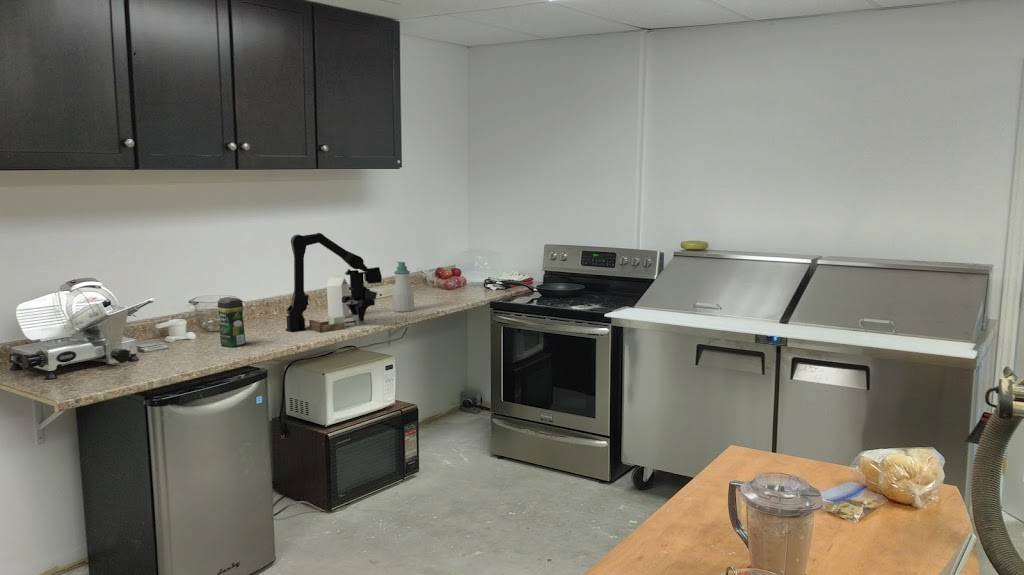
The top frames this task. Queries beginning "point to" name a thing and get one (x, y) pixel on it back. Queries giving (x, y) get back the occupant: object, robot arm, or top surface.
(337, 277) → the milk carton
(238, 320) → the coffee jar
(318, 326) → the walnut lane
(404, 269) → the soap bottle
